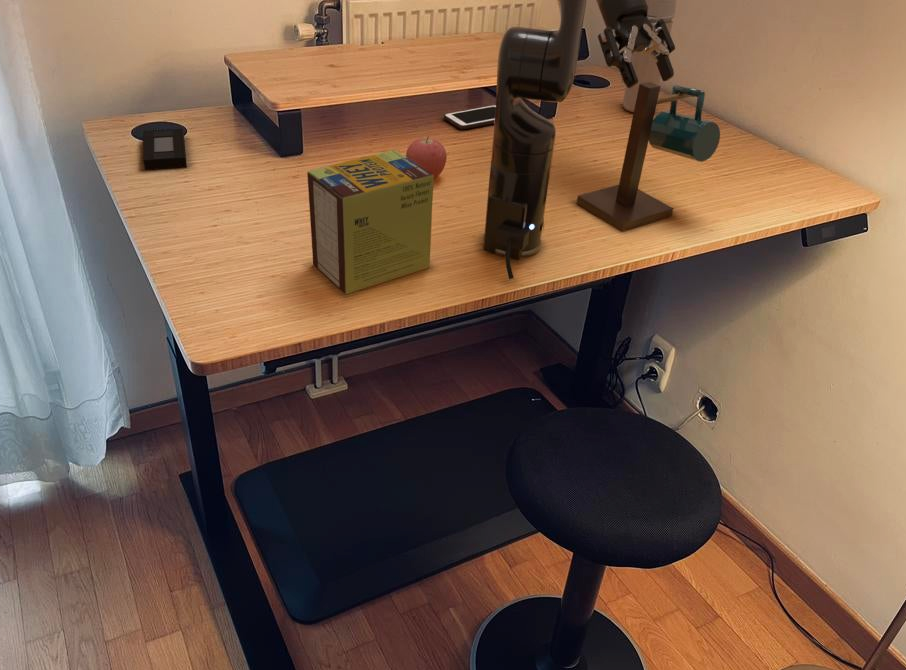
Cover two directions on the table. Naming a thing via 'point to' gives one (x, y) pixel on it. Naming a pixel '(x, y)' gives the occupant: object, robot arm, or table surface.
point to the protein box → (370, 219)
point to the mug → (685, 130)
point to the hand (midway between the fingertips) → (651, 82)
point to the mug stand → (632, 171)
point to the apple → (428, 155)
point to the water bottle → (644, 65)
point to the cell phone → (472, 117)
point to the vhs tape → (164, 149)
